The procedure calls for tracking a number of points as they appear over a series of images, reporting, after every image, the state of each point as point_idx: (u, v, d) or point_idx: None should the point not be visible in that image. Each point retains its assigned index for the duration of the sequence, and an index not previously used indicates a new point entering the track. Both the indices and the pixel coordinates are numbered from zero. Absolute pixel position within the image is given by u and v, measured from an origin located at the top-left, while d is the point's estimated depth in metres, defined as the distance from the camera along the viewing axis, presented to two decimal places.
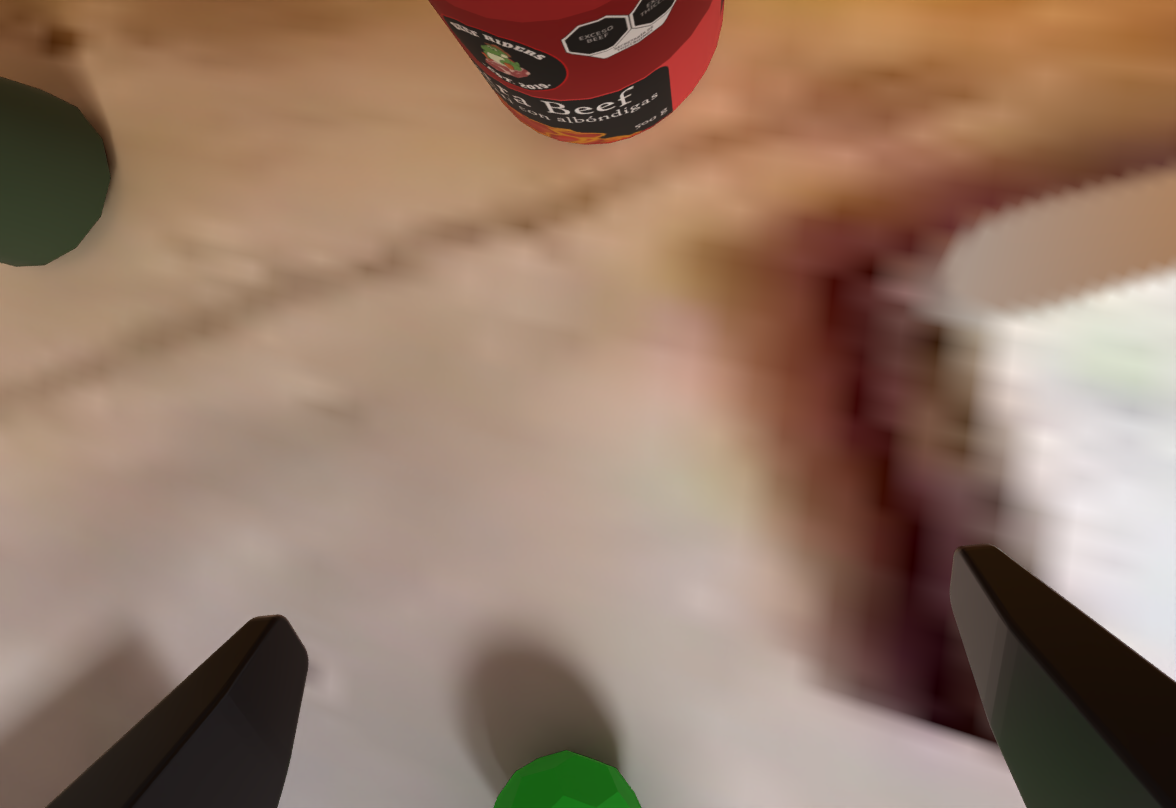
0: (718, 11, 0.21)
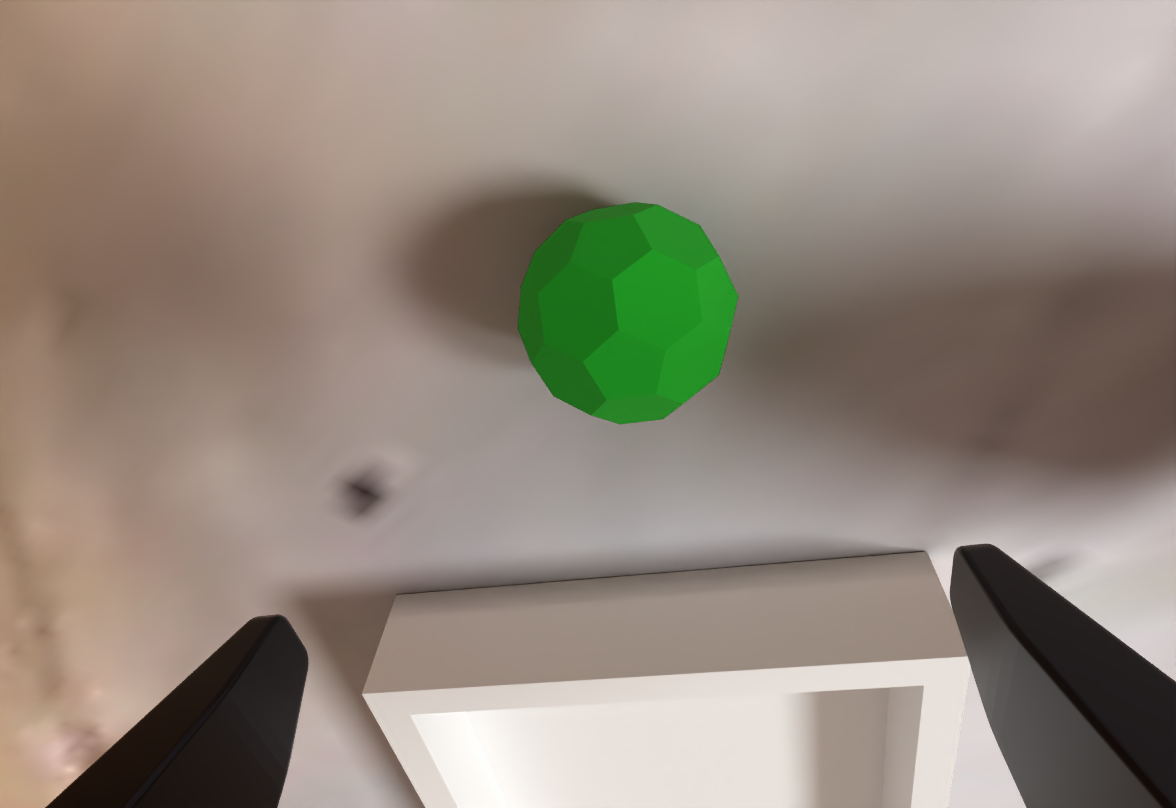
0: None
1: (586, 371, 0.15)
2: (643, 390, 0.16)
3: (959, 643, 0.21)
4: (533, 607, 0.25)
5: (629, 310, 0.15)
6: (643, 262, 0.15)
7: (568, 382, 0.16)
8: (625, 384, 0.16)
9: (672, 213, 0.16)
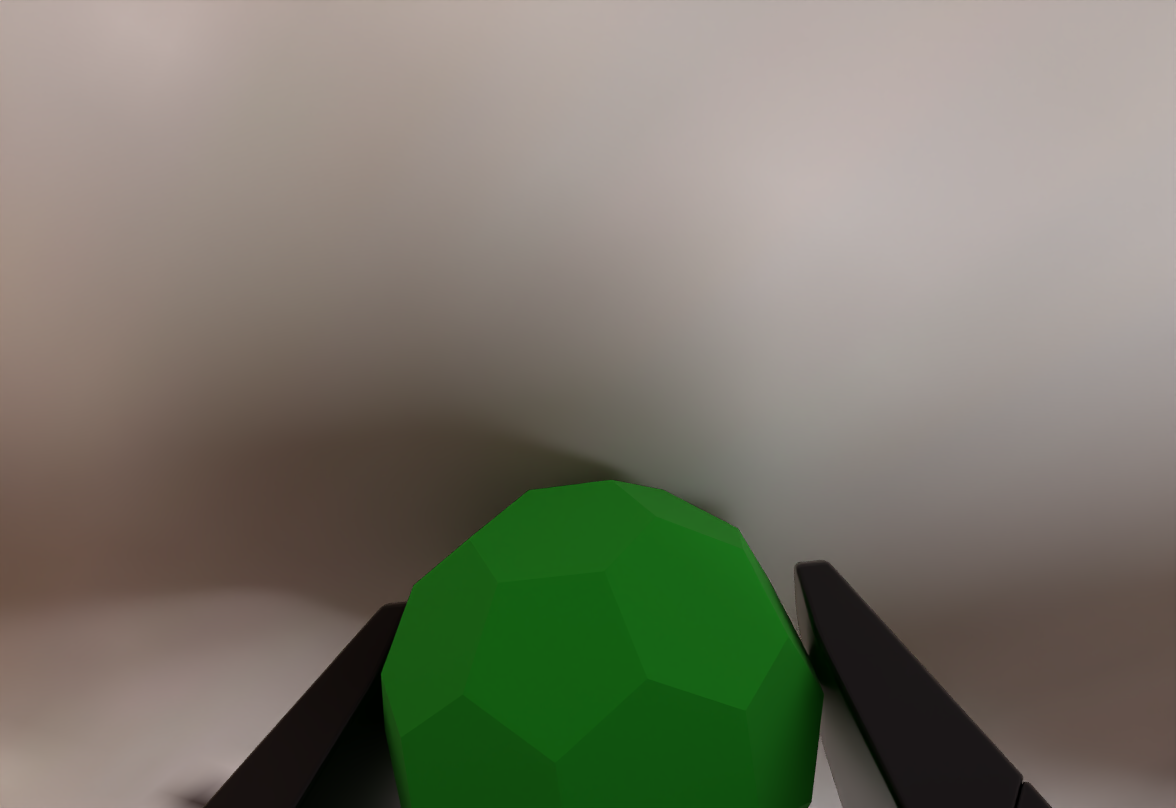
0: None
1: None
2: None
3: None
4: None
5: None
6: (627, 711, 0.07)
7: None
8: None
9: (687, 533, 0.08)
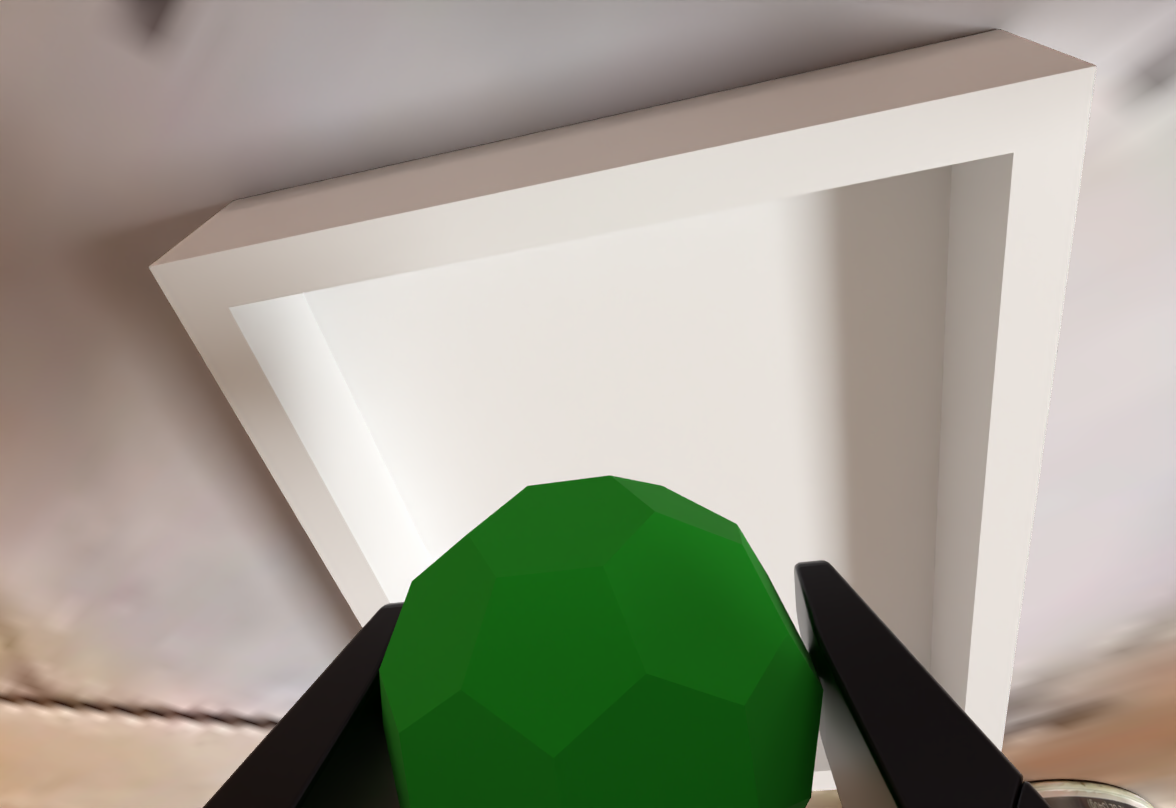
0: None
1: None
2: None
3: (1070, 63, 0.13)
4: (415, 171, 0.17)
5: None
6: (624, 707, 0.07)
7: None
8: None
9: (686, 528, 0.08)
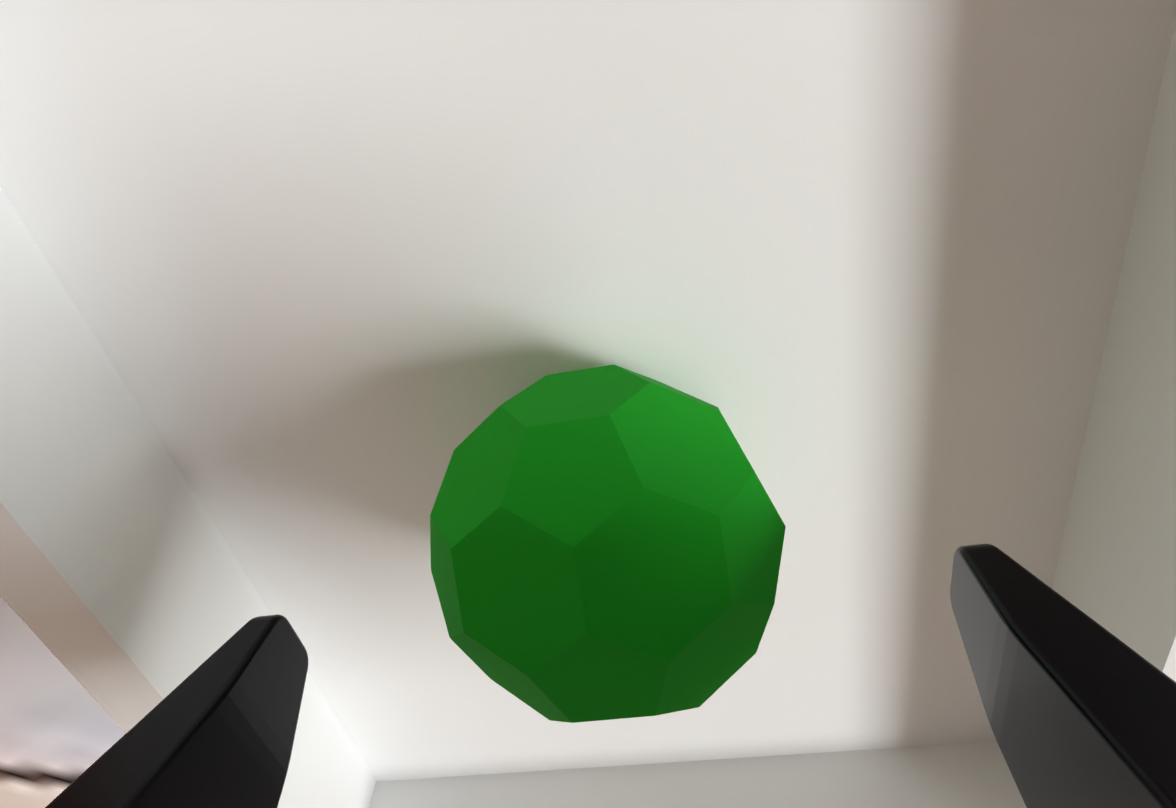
0: None
1: (534, 685, 0.09)
2: (632, 710, 0.09)
3: None
4: None
5: (604, 600, 0.08)
6: (627, 513, 0.09)
7: (509, 680, 0.10)
8: (602, 704, 0.09)
9: (674, 396, 0.10)
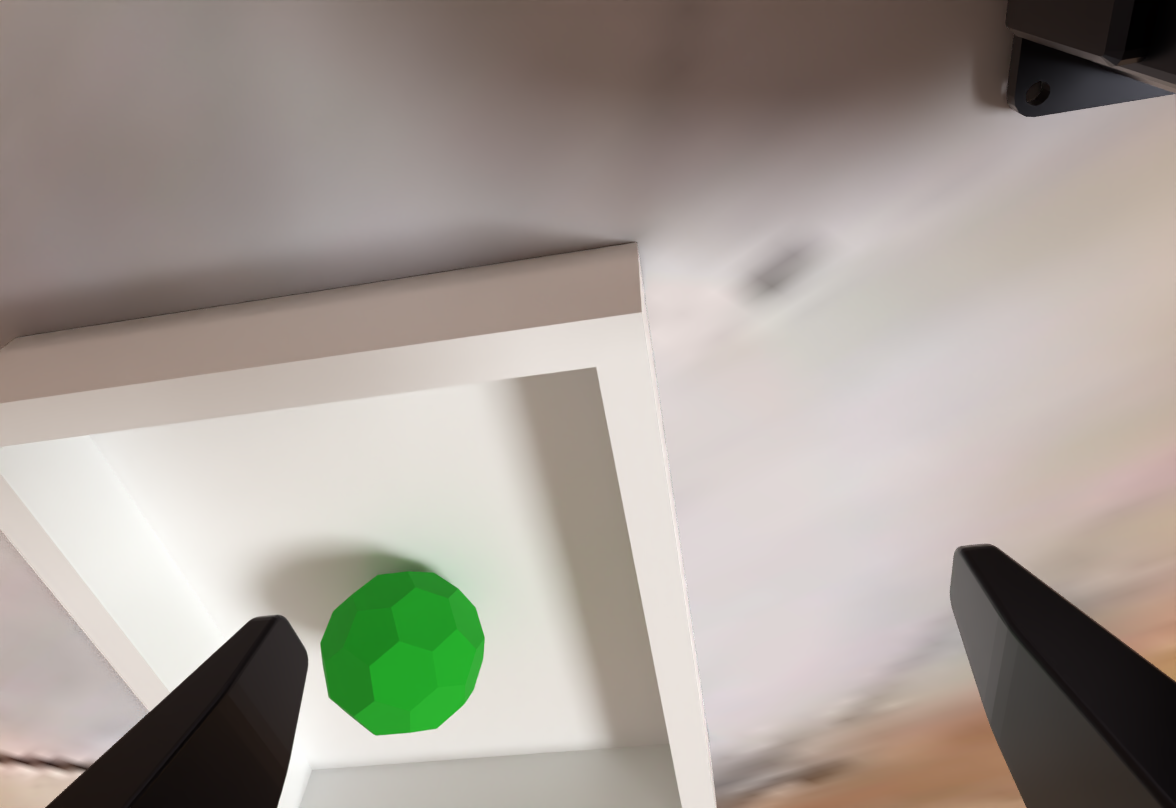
0: None
1: (358, 720, 0.22)
2: (400, 730, 0.22)
3: (631, 304, 0.17)
4: (162, 329, 0.20)
5: (382, 686, 0.21)
6: (392, 651, 0.21)
7: (352, 716, 0.23)
8: (387, 727, 0.22)
9: (426, 593, 0.23)
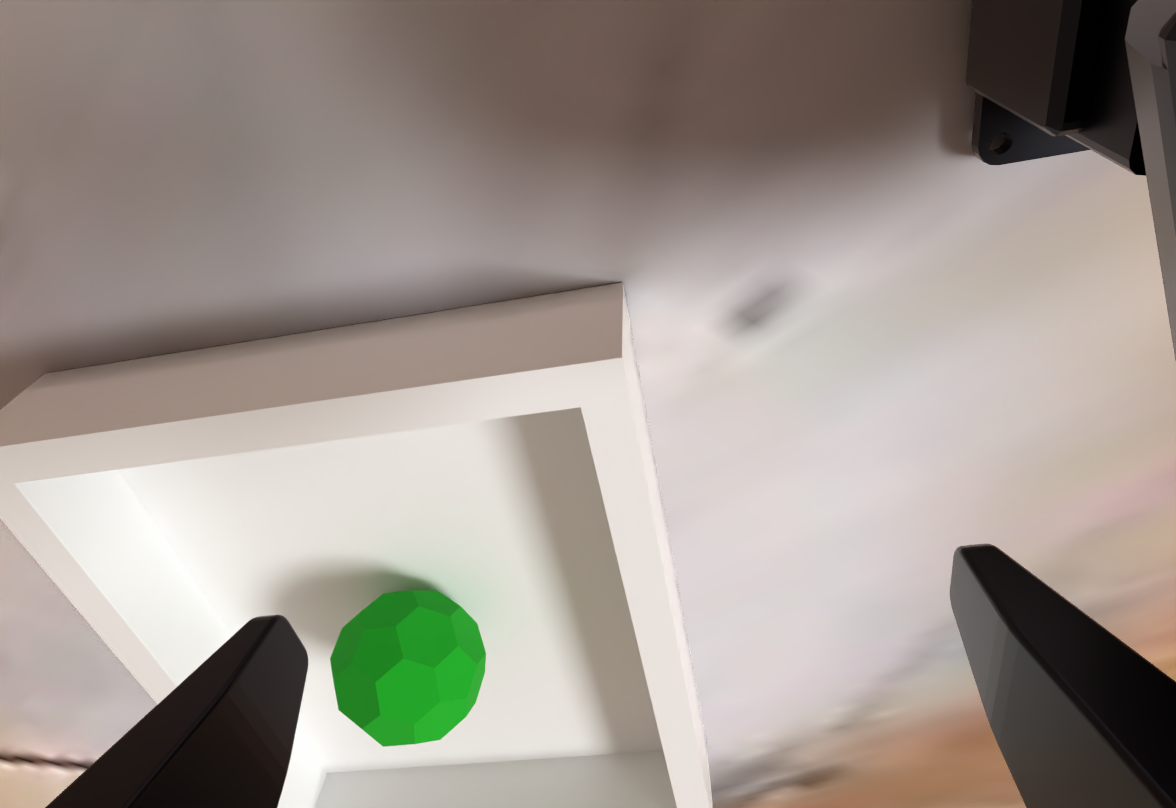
0: None
1: None
2: (405, 742, 0.23)
3: (613, 349, 0.18)
4: (177, 368, 0.21)
5: (388, 701, 0.22)
6: (397, 668, 0.23)
7: None
8: (393, 739, 0.23)
9: (429, 611, 0.24)
